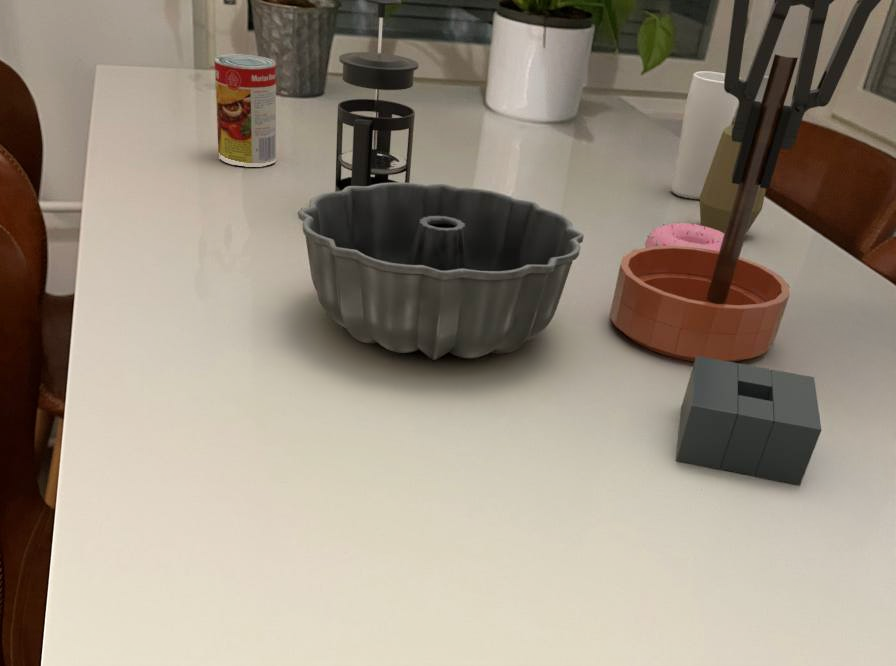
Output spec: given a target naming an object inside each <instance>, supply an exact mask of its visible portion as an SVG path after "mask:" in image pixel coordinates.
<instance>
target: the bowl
mask: <svg viewBox="0 0 896 666" xmlns="http://www.w3.org/2000/svg"><path fill="white" fill-rule="evenodd" d="M718 255H719V251H713V250H707V249H702V248H696V247H695V248H694V247H684V246H654V247H642V248H638V249H633V250H631V251H630V252H628V253H627V254H625V255H624V256H622V257H621V261H620V265H619V270H618V274H617V279H616V283H615V288H614V292H613V298H612V302H611V307H610V311H609V318H610V319H611V321H612V323H613V325H614V326H615V327H616V328H617V329H618V330H620V331H621V332H622V333H623V334H625V335H626V336H627V337H628V338H629V337H630V338H631V339H630V338H629V339H630V340H632V341H633V342H635V343H636V344H637V345H640V346H641V345H642V346H641V347H644V348H645V347H646V348H645V349H648V350H650V351H653V352H655V353H658V354H661V355H662V356H663V355H664V356H667V357H670V358H674V359H679V360H684V361H689V362H694V361H695V357H696V356H700V357H706V358H711V359H717V360H722V361H728V362H733V363H737V362H741V361H744V360H749V359H753V358H756V357H758V356H762V355H764V354H766V353H767V352H768V351H769V350H770V349H771V348H772V347H773V346H774V343H775V340H776V338H777V335H778V332H779V328H780V325H781V323H782V320H783V317H784V313H785V312H786V311H785V310H786V307H787V305H788V301H789V298H790V295H791V293H790V292H791V291H790V285H789V283H788V282H786V280H784V278H783V277H782V276H781V275H780V274H778V273H777V272H774V271H773V270H771V269H770V268H768V267H766V266H765V265H762V264H759V263H756V262H754V261H752V260H749V259H747V258H744V257H742V256H739V259H738V262H737V266H736V269H735V273H734V276H733V279H732V283H731V286H730V289H729V293H728V296H727V300H726V302H725V303H724V304H715V303H711V302H709V301H707V299H706V297H707V294H708V290H709V287H710V283H711V279H712V276H713V272H714V269H715V265H716V262H717V258H718Z"/></svg>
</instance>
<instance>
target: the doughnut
mask: <svg viewBox="0 0 896 666" xmlns="http://www.w3.org/2000/svg"><path fill="white" fill-rule="evenodd" d="M723 237H724V233H722V232H720V231H718V230H715V229H712V228H709V227H705V226H701V223H700V224H697V223H692V222H690V223H685V222H683V223H681V222H676V223H675V222H673V223H670V222H667V224H664V223H663V224H662V225H660V226H658V227H656V228H653V230H652V231H651V232H650V233H649V234H648V235H647V238H646V240H645V242H644V248H646V247H654V246H684V247H694V248H695V247H696V248H702V249H707V250H713V251H720V247H721V244H722V240H723Z"/></svg>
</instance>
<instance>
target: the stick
mask: <svg viewBox="0 0 896 666" xmlns="http://www.w3.org/2000/svg"><path fill="white" fill-rule="evenodd" d="M798 59H799V58H798V56H797V55H795V54H791V53H785V52H776V53H774V55H773V59H772V63H771V66H770V71H769V74H768V81H767V84H766V88H765V91H764V95H763V98H762V102H761V111H760V115H759V119H758V122H757V126H756V129H755V133H754V136H753V140H752V143H751V147H750V150H749V154H748V158H747V161H746V165H745V168H744V172H743V175H742V179H741V182H740V184H738V187H737V191H736V194H735V198H734V201H733V205H732V208H731V212H730V216H729V219H728V223H727V226H726V230H725V233H724V237H723V240H722V244H721V247H720V251H719V255H718V258H717V262H716V265H715V269H714V272H713V276H712V279H711V283H710V287H709V290H708V294H707V297H706V299H707V301H709V302H711V303H715V304H724V303H725V302H726V300H727V296H728V293H729V289H730V286H731V283H732V279H733V276H734V273H735V269H736V266H737V262H738V259H739V257H741V256H740V255H741V252H742V250H743V249H742V248H743V245H744V242H745V238H746V236H747V233H748V232H747V229H748V225H749V222H750V218H751V215H752V212H753V208H754V205H755V201H756V198H757V195H758V191H759V188H760V184H761V180H762V177H763V173H764V170H765V167H766V163H767V160H768V156H769V153H770V150H771V146H772V143H773V139H774V136H775V133H776V129H777V126H778V122H779V119H780V115H781V112H782V109H783V107H784V105H785V103H786V99H787V96H788V93H789V89H790V86H791V83H792V79H793V76H794V72H795V70H796V66H797V62H798ZM746 232H747V233H746Z"/></svg>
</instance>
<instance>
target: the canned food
mask: <svg viewBox="0 0 896 666" xmlns="http://www.w3.org/2000/svg"><path fill="white" fill-rule="evenodd" d="M276 68H277V64H276V61H275V60H273V59H271V58H270V57H265V56H260V55H255V54H254V55H253V54H244V53H227V54H220V55H217V56H215V57H214V74H215V75H214V77H215V101H216V102H215V104H216V125H217V126H216V128H217V150H218V151H217V153H218V152H219V153H220V155H222V156H224V157H225V158H228V159H231V160H235V161H239V162H244V163H245V162H246V163H266V162H271V161H274V160H275V159H276V160H277V69H276Z"/></svg>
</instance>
